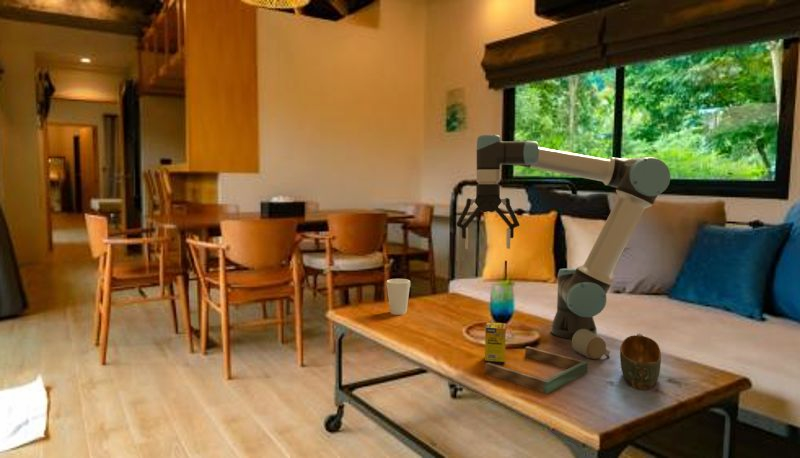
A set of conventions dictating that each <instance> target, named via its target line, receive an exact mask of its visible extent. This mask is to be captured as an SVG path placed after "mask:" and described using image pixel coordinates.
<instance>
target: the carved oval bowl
mask: <svg viewBox="0 0 800 458" xmlns="http://www.w3.org/2000/svg"><path fill="white" fill-rule="evenodd" d="M619 351H620V352H619V356H620V357H619V358H620V361H619V362H620V368H621V372H622V376H623V379H624V381H625V383H626V384H627V385H629V386H630V387H631V386H632V387H631V388H634V389H635V388H636V389H635V390H640V389H641V390H643V391H645V390H646V389H647V390H651V389H652V388H653V387H655V385H656V384H657V382H658V379H659V377H660V373H661V364H662V363H661V362H662V360H661V359H662V355H661V354H662V353H661V352H662V351H661V348H660V346H659V344H658V343H657V341H656V340H654V339H652V338H651V337H648V336H643V334H642V333H638V334H637V335H635V334H634V335H629V336H628V337H626V338H624V340H622V342H621V344H620V350H619ZM647 390H646V391H647Z"/></svg>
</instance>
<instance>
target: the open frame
mask: <svg viewBox="0 0 800 458" xmlns="http://www.w3.org/2000/svg"><path fill="white" fill-rule="evenodd" d="M524 348H525V350H524V357H525V358H529V359H532V360H536V361H539V362H543V363H545V364H550V365H553V366H557V367H561V368H564V369H565V370H562V371H561V372H558V373H557V374H556V375H553V376H551V377H549V378H546V379H544V378H541V377H538V376H534V375H531V374H527V373H525V372H521V371H517V370H515V369H514V370H513V369H512V368H507V367H505V366H501V365H499V364H493V363H489V362H487V363H485V362H484V367H485V368H484V374H485V375H488V376H491V377H494V378H498V379H500V380H504V381H506V382H510V383H512V384H517V385H519V386H522V387H526V388H528V389H531V390H534V391H537V392H541V393H544V394H546V395H548V394H550V393H552V392H554V391H555V390H557V389H559V388H561V387H563V386H565V385H566V384H568V383H570V382H572V381H574V380H575V379H578V378H579V377H581V376H584V375H585V374H587V373H588V364H589V363H588V361H584V360H580V359H577V358H573V357H570V356H565V355H561V354H558V353H554V352H551V351H547V350H543V349H538V348H535V347H531V346H525V347H524Z"/></svg>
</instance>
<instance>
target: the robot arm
mask: <svg viewBox="0 0 800 458" xmlns="http://www.w3.org/2000/svg"><path fill="white" fill-rule="evenodd" d="M501 165H503V166H505V165H506V166H507V165H508V166H509V165H511V166H514V167H516V166H517V167H523V168H529V169H535V170H538V171H539V170H540V171H545V172H551V173H556V174H557V173H558V174H561V175H565V176H566V175H568V176H572V177H577V178H582V179H587V180H593V181H598V182H602V183H603V184H604V186H608V187H612V188H616V189H615V192H616V194H617V199H616V201H615V203H614V205H613V207H612V209H611V210H610V213H609V215H608V217H607V219H606V221H605V223H604V225H603V226H602V228H601V229H600V230H601V231H600V232H599V235H598V237H597V239H596V240H595V242H594V244H593V246H592V248H591V250H590V252H589V253H588V256H587V258H586V260H585V262H584V264H582V265H580V266H577V267H576V268H559V270H558V272H557V276H556V277H557V298H556V299H557V303H556V307H557V308H556V312H555V315H554V318H553V321H552V324H551V331H550V332H551V333H552V334H553V335H555V336H557V337H559V338H563V339H569V340H572V338H573V335H574V334H575V333H576V332H577V331H578V330H580V329H587V330H589V331H591V332H592V333H594V334H596V335H597V334H598V333H597V327H596V322H595V319H594V317H595V316H597V315H599V314H600V313H601V312H602V311H603V310H604V309H605V307H606V305H607V293H608V291H609V290H610V288H611V286H612V281H611V278H610V276H611V275H612V273H613V271H614V269H615V267H616V265H617V264H618V261H619V259H620V257H621V255H622V253H623V251H624V250H625V248H626V246H627V244H628V242H629V240H630V239H631V236H632V234H633V232H634V231H635V228H636V226H637V225H638V222H639V221H640V219H641V217H642V215H643V213H644V211H645V209H647V208H651V207H653V205H654V204H655V201H656V199H657V198H658V196H659V195H660V194H662V193H663V192H665V191H666V190H667V189H668V186H669V185H670V182H671V172H670V168H669V167H668V166H667V164H666V163H665V162H664V161H663V160H661V159H659V158H657V157H653V156H643V157H634V158H633V157H632V158H631V157H629V158H619V157H612V156H611V157H610V158H607V159H606V158H602V157H596V156H591V155H585V154H582V153H581V154H579V153H573V152H569V151H562V150H556V149H553V148H552V149H551V148H547V147H541V146H539V142H537V141H535V140H512V141H511V140H509V141H504V140H502V139H501V136H500V135H499V134H482V135H478V137H477V140H476V183H477V184H476V185H475V188H476V189H475V190H476V191H475V193H476V195H475V199H474V198H469V197H467V198H466V201H465V206H464V208H463V210H462V212H461V213H460V216H459V218H458V220H457V222H456V224H455V225H456V227H458V228H461V238H462V239H464V248H465V250H468V249H469V228H468V226H470V223H472V222H473V220H474V219H475V218H476V217H477V216H478V215H479V214H480V212H482V213H488V212H489V213H494V212H496V213H497V215H498V216H499V217H500V219H502V221H504V223H505V224H506V226H508V227H507V228H506V239H505V240H506V245H505V247H506V249H509V250H510V249H511V239H513V238H514V233H515V231H514V230H515V228H517V227H518V228H519V226H520V223H519V219H518V218H517V216H516V214H515V212H514V210H513V209H512V206H511V201H510V198H508V197H506V198H501V197H500V196H501V194H500V193H501V191H500V190H501V189H500V187H501V185H500V184H499V183H500V182H501ZM473 204H475V205H476V208H475V209H474V210H473V212H472V213H471V214H470V216H469V217H467V219H466V220H465V221H464V219H465V218H466V216H467V214H468V212H469V210H470V209H471V206H473ZM501 204H502V205H503V206H505V208H506V210H507V212H508V214H509V216H510V218H511V221H510V219H509V218H508V217H507V216H506V214H504V212H503V211H502V210H501V208H499V206H500V205H501ZM463 221H464V222H463ZM512 222H513V223H512Z"/></svg>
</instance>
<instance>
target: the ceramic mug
mask: <svg viewBox="0 0 800 458" xmlns="http://www.w3.org/2000/svg"><path fill="white" fill-rule="evenodd" d="M571 346H572V348H573V350H574V351H575V352H577V353H579V355H580V354H581V355H583V356H584V357H586V358H589V359H590V360H598V359H600V358H602V357H603V356H604V355H605V356H610V354H611V351H610V350H609V349H607V344H606V341H605V340H604V339H603V338H602V337H600V335H598V334H597V333H596V334H594V333H592V332H591V331H589V330H587V329H580V330H578V331H577V332H576V333H575V334H574V335H573V338H572V339H571Z"/></svg>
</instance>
